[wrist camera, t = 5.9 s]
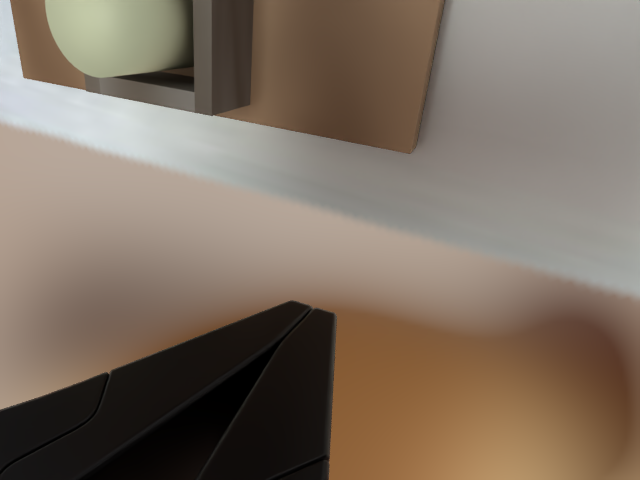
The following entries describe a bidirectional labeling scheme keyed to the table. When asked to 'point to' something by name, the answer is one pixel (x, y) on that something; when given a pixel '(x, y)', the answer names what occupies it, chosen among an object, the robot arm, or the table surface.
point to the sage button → (123, 35)
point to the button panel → (278, 65)
